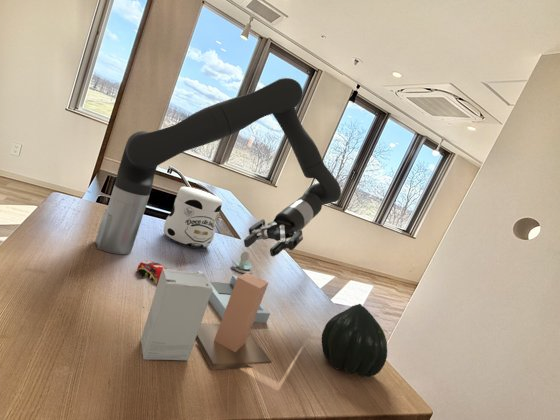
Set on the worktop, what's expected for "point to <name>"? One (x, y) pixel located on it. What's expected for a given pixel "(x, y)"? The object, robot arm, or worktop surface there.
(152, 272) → the race car
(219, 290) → the grey channel
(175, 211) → the milk container
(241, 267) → the pacifier
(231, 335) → the terracotta block
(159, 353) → the skincare box
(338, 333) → the squash
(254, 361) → the walnut board
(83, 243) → the worktop surface
